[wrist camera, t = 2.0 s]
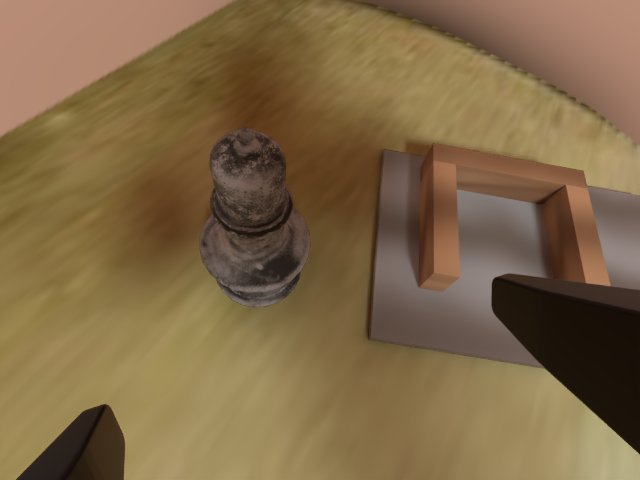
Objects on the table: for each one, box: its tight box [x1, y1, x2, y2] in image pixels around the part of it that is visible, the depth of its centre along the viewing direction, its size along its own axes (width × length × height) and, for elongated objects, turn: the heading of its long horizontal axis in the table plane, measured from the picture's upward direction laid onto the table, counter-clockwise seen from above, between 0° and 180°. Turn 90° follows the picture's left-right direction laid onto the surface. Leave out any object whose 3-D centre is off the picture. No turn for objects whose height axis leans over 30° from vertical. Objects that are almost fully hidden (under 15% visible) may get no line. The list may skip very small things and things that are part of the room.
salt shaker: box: [200, 127, 311, 307], centre depth 18 cm, size 6×6×12 cm
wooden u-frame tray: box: [368, 143, 640, 369], centre depth 24 cm, size 14×20×3 cm
